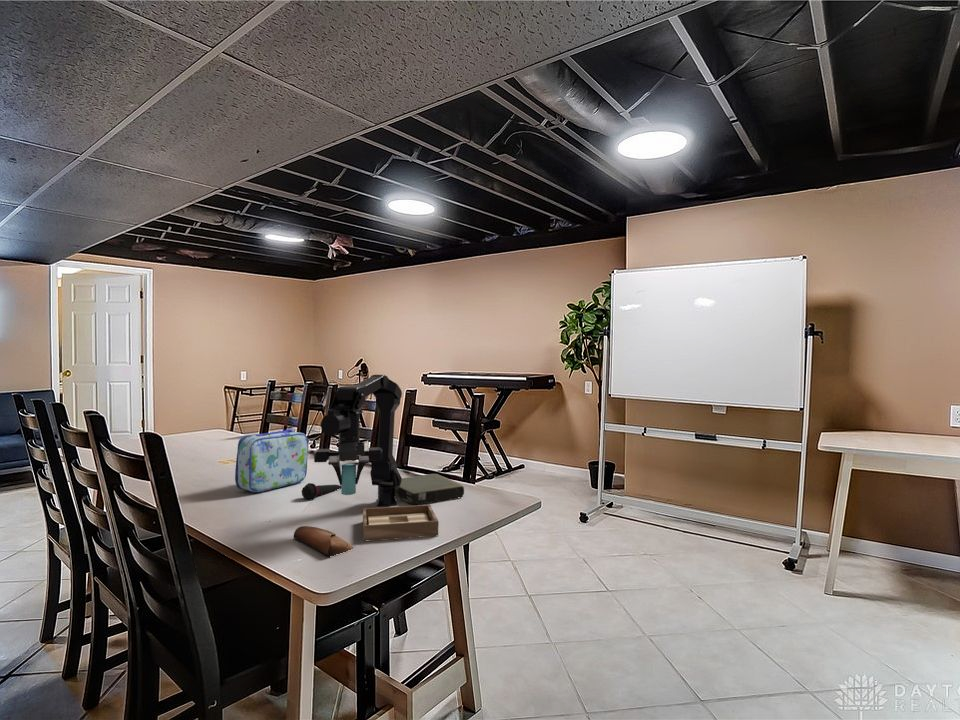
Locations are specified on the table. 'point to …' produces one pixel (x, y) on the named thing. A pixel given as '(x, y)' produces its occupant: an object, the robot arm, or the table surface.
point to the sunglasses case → (322, 540)
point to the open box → (399, 522)
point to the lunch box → (271, 460)
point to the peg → (348, 479)
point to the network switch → (428, 489)
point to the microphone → (317, 490)
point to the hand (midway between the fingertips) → (348, 484)
